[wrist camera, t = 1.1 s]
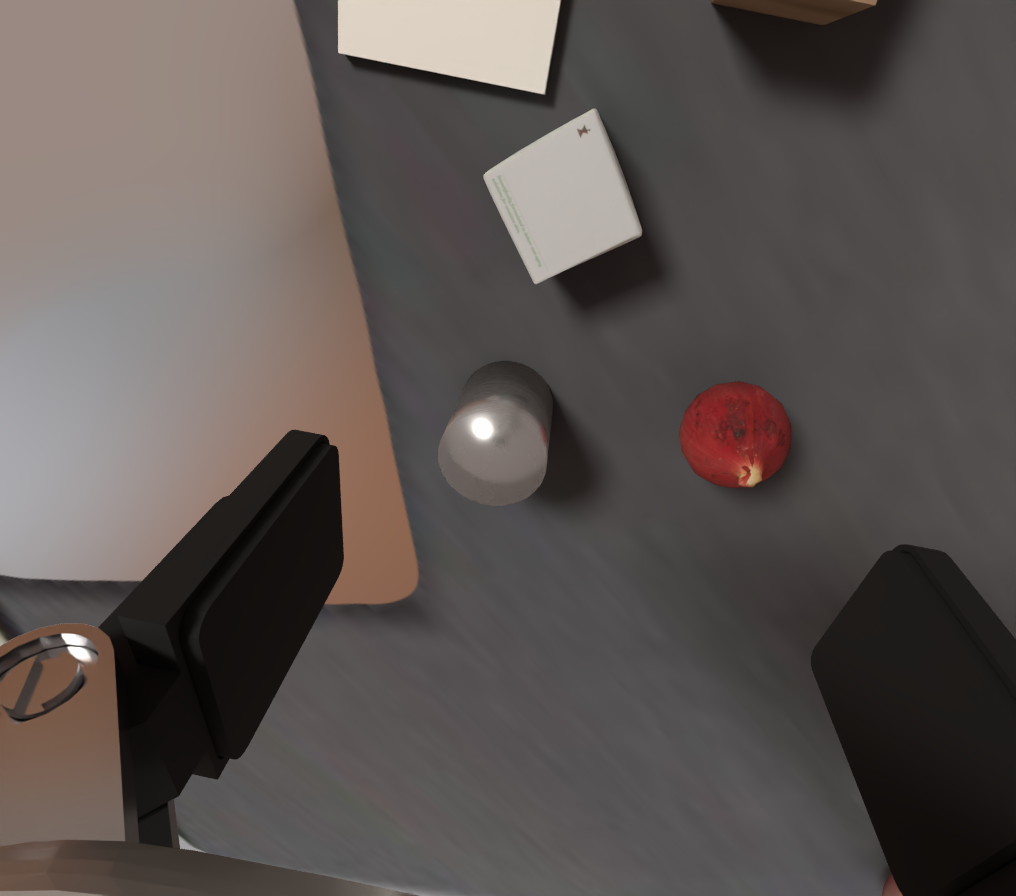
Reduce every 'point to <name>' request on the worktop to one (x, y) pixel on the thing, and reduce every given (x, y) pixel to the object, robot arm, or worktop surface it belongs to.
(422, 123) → the worktop surface
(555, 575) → the worktop surface
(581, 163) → the small box
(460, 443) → the tin
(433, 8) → the plate
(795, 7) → the walnut block
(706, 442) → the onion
